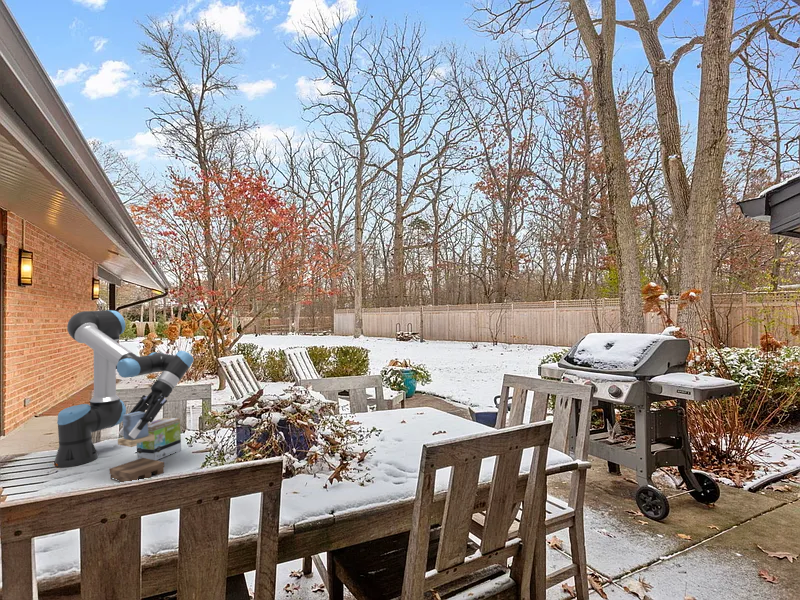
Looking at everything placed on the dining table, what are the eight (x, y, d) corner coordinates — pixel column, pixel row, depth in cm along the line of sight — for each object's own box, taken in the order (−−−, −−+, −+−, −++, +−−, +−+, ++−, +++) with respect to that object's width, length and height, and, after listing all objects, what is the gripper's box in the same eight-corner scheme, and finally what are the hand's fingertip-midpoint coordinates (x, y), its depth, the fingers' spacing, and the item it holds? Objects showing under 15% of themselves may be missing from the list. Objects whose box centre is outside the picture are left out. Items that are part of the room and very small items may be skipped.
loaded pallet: (117, 444, 177) (116, 415, 177) (141, 437, 184) (139, 410, 184) (131, 447, 172) (129, 417, 172) (154, 440, 180) (153, 411, 180)
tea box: (155, 462, 194) (153, 426, 194) (136, 460, 197) (134, 426, 197) (182, 450, 208) (180, 417, 208) (164, 449, 211) (162, 417, 211)
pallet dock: (110, 479, 176) (109, 468, 176) (143, 467, 187) (143, 457, 187) (130, 484, 169) (130, 473, 169) (164, 472, 180) (163, 462, 180)
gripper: (185, 391, 187) (148, 443, 173) (157, 388, 196) (119, 438, 182) (172, 380, 182) (133, 433, 168) (144, 378, 192) (105, 428, 178)
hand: (126, 436), depth 175 cm, fingers closed on loaded pallet, 6 cm apart
